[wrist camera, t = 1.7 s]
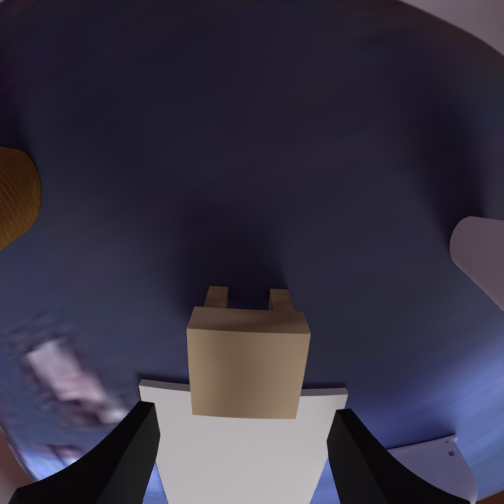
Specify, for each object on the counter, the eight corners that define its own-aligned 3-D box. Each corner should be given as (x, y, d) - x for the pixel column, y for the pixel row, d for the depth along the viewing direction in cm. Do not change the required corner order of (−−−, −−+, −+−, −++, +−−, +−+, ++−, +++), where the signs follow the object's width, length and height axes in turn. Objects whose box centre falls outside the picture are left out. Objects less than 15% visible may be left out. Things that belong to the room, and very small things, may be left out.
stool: (294, 284, 19) (310, 333, 14) (285, 358, 21) (295, 418, 15) (204, 279, 19) (186, 328, 14) (204, 354, 21) (192, 414, 15)
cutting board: (345, 387, 22) (348, 394, 21) (305, 505, 27) (305, 510, 26) (141, 378, 21) (138, 385, 21) (170, 499, 27) (169, 505, 26)
